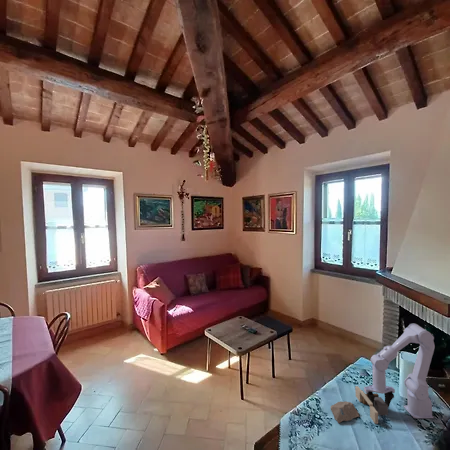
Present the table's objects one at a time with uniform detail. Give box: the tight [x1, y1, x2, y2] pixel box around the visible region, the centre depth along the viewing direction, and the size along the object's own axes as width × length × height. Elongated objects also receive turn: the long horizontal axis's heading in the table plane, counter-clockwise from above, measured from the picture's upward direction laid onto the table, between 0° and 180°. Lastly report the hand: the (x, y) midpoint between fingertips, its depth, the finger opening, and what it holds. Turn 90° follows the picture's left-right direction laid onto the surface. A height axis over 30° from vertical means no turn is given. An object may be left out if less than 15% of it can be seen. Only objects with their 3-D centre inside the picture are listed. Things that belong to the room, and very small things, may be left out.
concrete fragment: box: [330, 401, 360, 424], centre depth 124 cm, size 7×14×6 cm, turn 104°
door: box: [361, 393, 380, 405], centre depth 131 cm, size 2×8×5 cm, turn 88°
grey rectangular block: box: [374, 396, 389, 416], centre depth 127 cm, size 4×6×5 cm
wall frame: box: [354, 385, 379, 425], centre depth 128 cm, size 2×19×6 cm, turn 178°
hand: (379, 405), depth 127 cm, fingers open, 7 cm apart
